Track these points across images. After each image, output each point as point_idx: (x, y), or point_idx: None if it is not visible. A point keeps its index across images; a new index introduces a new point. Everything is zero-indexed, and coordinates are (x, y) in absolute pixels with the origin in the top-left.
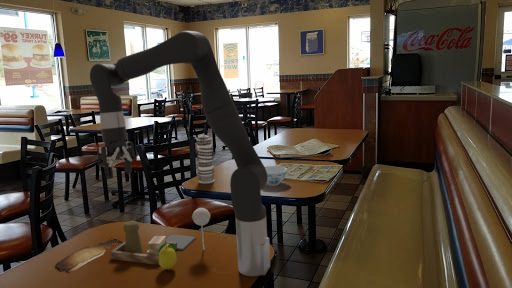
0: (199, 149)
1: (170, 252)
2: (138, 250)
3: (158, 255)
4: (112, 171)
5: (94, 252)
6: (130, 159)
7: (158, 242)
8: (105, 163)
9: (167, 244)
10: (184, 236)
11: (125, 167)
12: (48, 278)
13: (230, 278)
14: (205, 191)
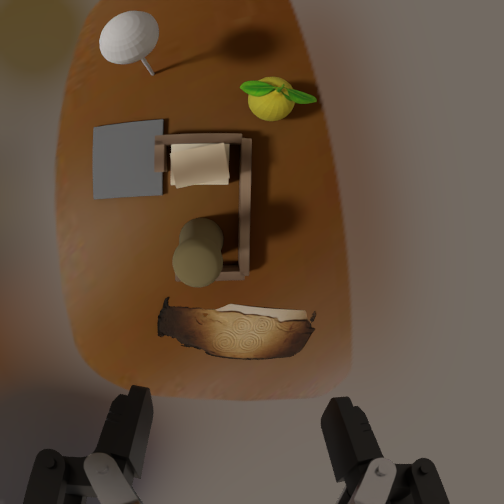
0: None
1: (283, 80)
2: (208, 222)
3: (240, 141)
4: (349, 431)
5: (230, 325)
6: (103, 471)
7: (217, 149)
8: (429, 470)
9: (175, 151)
10: (96, 156)
11: (145, 443)
12: (336, 329)
13: None
14: None
